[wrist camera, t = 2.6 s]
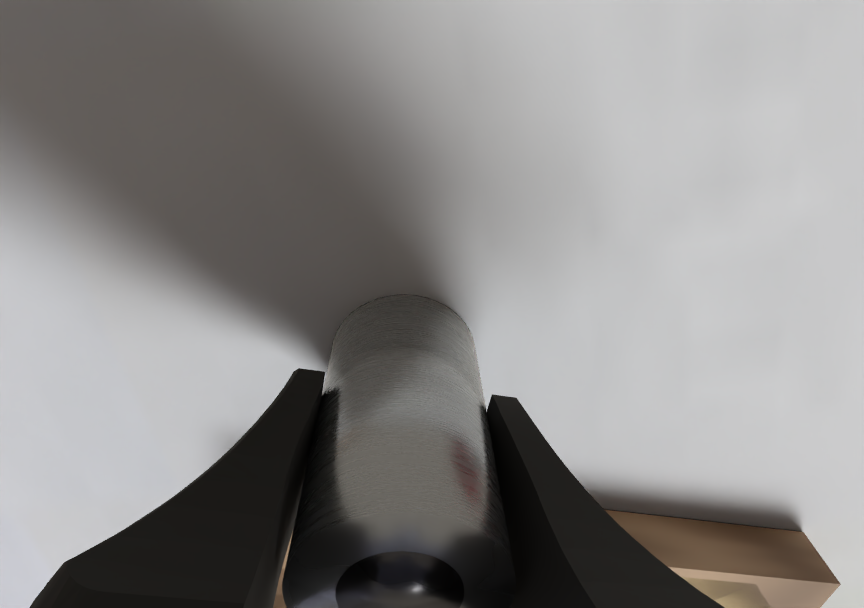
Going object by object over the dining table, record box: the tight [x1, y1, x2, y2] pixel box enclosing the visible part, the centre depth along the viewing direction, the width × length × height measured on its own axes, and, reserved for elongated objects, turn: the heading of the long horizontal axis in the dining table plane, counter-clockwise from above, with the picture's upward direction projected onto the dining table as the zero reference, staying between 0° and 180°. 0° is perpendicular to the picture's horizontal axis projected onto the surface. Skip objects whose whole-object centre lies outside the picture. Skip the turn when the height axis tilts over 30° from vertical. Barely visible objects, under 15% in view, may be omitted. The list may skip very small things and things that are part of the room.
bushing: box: [282, 295, 516, 608], centre depth 13 cm, size 4×4×7 cm
